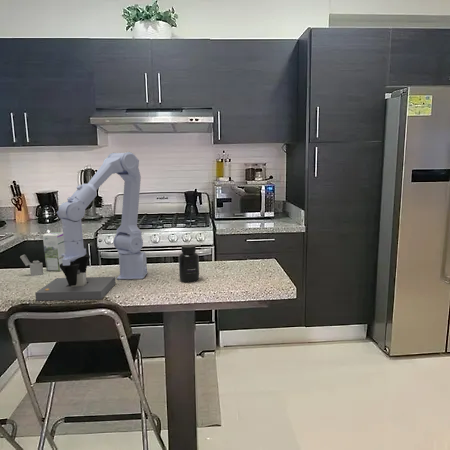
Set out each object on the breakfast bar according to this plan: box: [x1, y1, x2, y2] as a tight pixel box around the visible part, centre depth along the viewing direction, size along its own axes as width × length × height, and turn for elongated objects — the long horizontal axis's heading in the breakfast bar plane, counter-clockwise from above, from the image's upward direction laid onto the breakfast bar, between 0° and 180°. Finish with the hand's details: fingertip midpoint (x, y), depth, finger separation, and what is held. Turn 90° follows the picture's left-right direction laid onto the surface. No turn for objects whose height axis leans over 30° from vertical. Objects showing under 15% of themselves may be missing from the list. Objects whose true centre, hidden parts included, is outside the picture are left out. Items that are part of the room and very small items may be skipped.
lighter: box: [19, 254, 44, 277], centre depth 147 cm, size 7×2×8 cm, turn 101°
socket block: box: [35, 276, 117, 302], centre depth 126 cm, size 20×15×3 cm
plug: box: [71, 270, 87, 287], centre depth 126 cm, size 4×3×7 cm, turn 90°
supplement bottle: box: [178, 244, 200, 283], centre depth 135 cm, size 7×7×12 cm
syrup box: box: [42, 231, 65, 272], centre depth 153 cm, size 6×6×14 cm
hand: (77, 281), depth 126 cm, fingers open, 7 cm apart
